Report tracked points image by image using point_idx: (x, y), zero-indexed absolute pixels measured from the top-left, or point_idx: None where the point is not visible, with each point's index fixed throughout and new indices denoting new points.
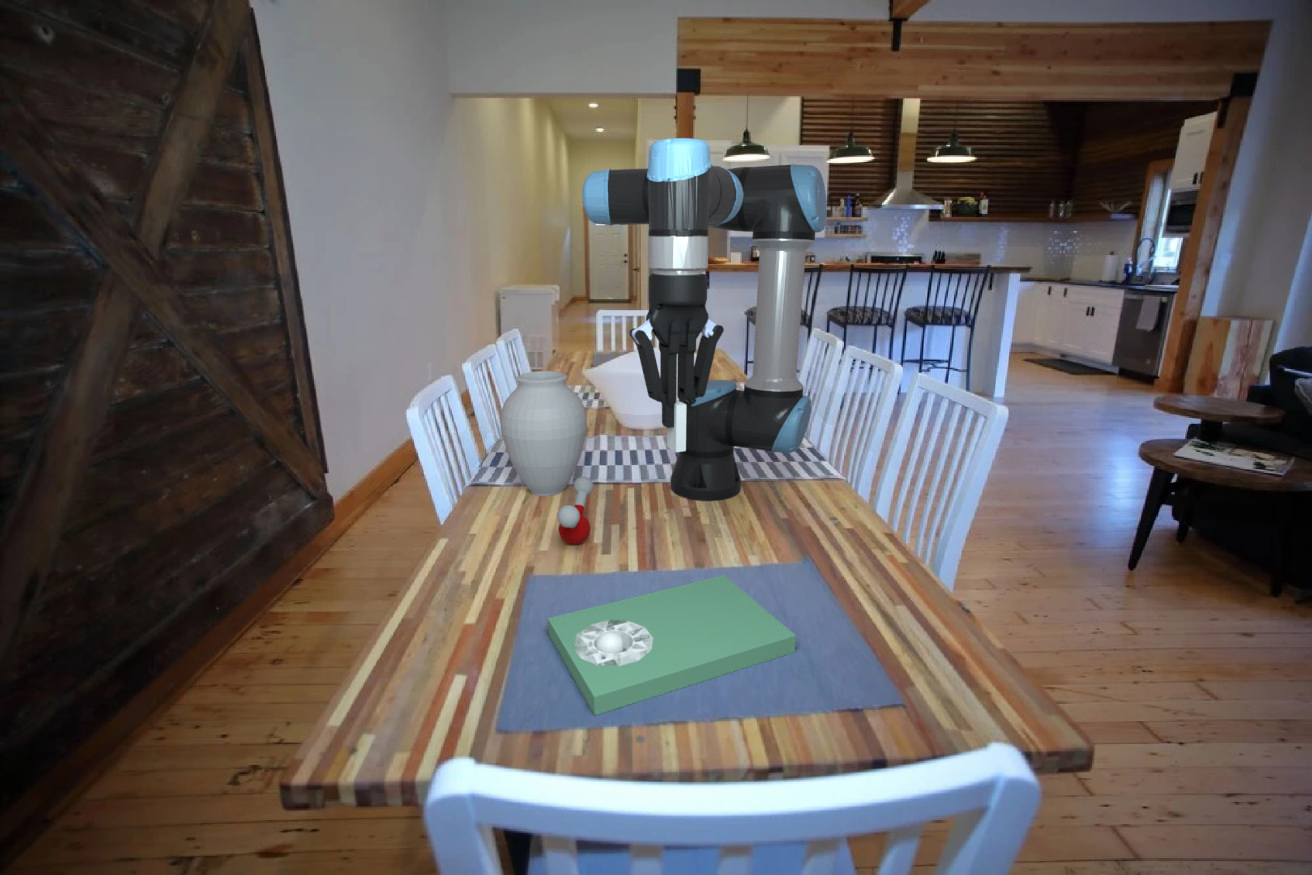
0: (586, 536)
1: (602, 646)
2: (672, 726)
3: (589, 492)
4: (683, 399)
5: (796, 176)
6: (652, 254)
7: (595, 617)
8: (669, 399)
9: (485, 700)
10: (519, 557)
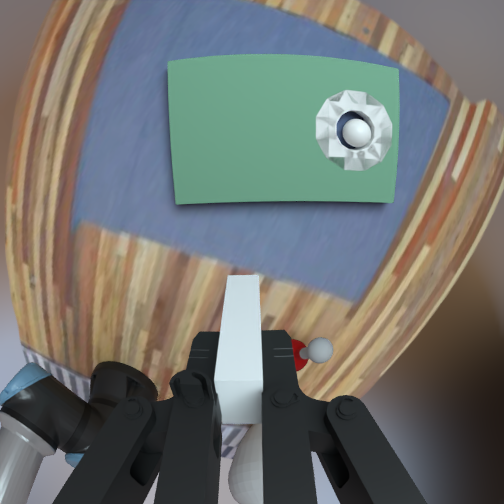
0: None
1: (369, 127)
2: (337, 27)
3: None
4: (216, 407)
5: None
6: None
7: (354, 181)
8: (298, 404)
9: (449, 138)
10: (348, 335)
